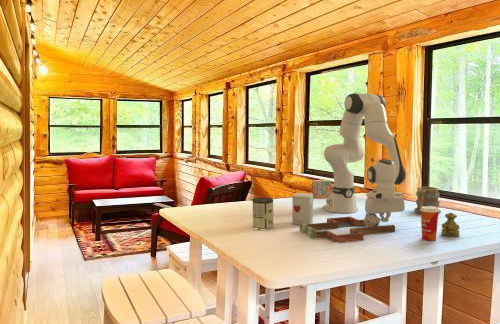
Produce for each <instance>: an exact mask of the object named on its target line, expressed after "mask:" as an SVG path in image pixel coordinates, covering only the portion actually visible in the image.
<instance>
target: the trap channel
mask: <svg viewBox="0 0 500 324" xmlns="http://www.w3.org/2000/svg"><path fill="white" fill-rule="evenodd" d="M363 221H364V219H357V218H355V217H353V216H339V217H327V218H326V222H317V223H311V224H304V223H300V225H299V232H301V233H302V232H303V233H302V234H304V233H305V234H304V235H306V234H307V235H308V237H309V236H310V237H309V238H311V237H312V238H313V240H316V239H315V238H321V239H328V240H329V239H330V241H331V240H332V242H333V241H334V242H333V243H335V242H339V243H347V242H346V241H349V242H357V241H359V240H360V241H364V235H372V234H373V235H374V234H383V233H384V234H385V233H392V232H393V233H395V231H396V225H395V224H387V225H378V226H374V227H367V226H366V225H365V224H364V223H361V222H363ZM350 227H353V228H350ZM338 228H349V233H344V234H336V233H334V232H332V231H330V230H333V229H338ZM322 229H324V230H322ZM307 235H306V236H307ZM312 238H311V239H312Z"/></svg>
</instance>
